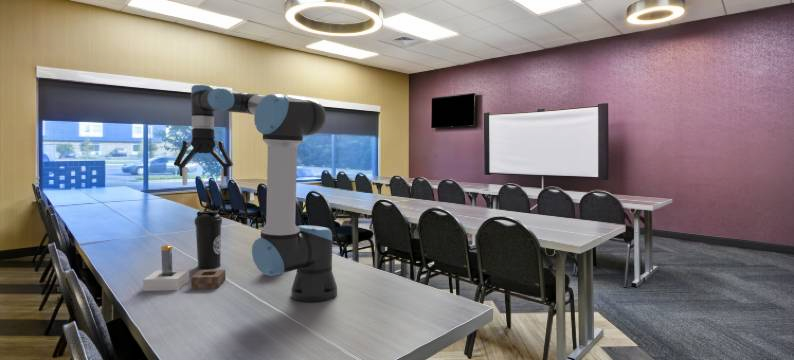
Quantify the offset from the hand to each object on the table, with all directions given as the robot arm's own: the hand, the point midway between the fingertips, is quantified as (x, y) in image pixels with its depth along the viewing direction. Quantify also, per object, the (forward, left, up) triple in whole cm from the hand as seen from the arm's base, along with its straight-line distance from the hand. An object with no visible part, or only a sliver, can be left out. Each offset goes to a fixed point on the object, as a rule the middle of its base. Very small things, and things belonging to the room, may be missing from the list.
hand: (204, 185), depth 157 cm
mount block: (-4, +10, -35) cm, 36 cm away
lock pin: (+10, +10, -35) cm, 37 cm away
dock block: (+10, +10, -35) cm, 37 cm away
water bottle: (+3, -14, -35) cm, 38 cm away
